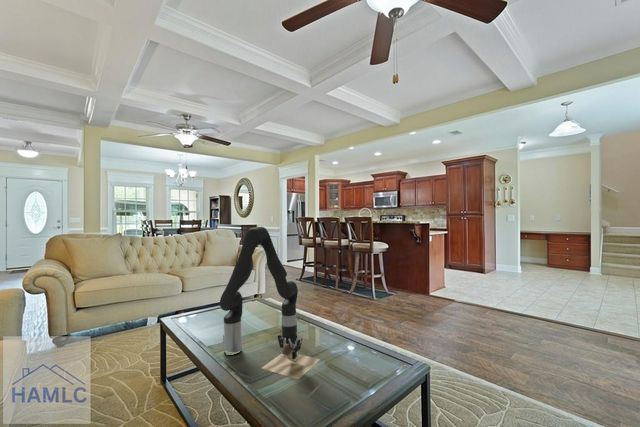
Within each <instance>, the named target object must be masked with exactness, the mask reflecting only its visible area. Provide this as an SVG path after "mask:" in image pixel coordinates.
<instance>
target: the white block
mask: <svg viewBox="0 0 640 427" xmlns="http://www.w3.org/2000/svg"><path fill="white" fill-rule="evenodd" d="M292 352H293V351H292V348H291V346H290V345H288V346H285V347H284V350H283V349H282V352H281V354H283V355H284V356H285V357H287V358H288V359H289V360H290V361H293V362H297V360H298V357H299V354H300V353H299V351H297V357H296V358H295V359H292Z"/></svg>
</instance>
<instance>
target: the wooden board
mask: <svg viewBox="0 0 640 427" xmlns="http://www.w3.org/2000/svg"><path fill="white" fill-rule="evenodd" d="M320 361H321V359H319V358H315V357H313V356H309V355H308V356H307V355H304V354H301V353H299V357H298V360H297V362H293V361H290V360H289V359H288V358H287V357H284V355H283V354H282V353H280V354H279V355H277V356H276V357H275V358H273V359H272V360H271V361H269V362H268V363H266V364H265V365H263V366H262V367H261V369H263V370H265V371H269V372H272V373H276V374H279V375H282V376H286V377H289V378H292V379H295V380H300V379H301V378H302V377H303V376H304V375H306V374H307V373H308V371H310V370H311V369H312V368H313V367H314V366H315V365H316V364H318V363H319V362H320Z"/></svg>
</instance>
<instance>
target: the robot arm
mask: <svg viewBox="0 0 640 427" xmlns="http://www.w3.org/2000/svg"><path fill="white" fill-rule="evenodd" d="M243 238H244V239H243V241H242V242H243V243H242V245H241V250H240V252H239V255H238V257H237V260H236V263H235V265H234V267H233V270H232V273H231V274H230V275H231V276H230V278H229V280H228V282H227V284H226V287H225V289H224V290H223V293H222V294H221V296H220V299H219V306H220V309H221V310H222V311H225V312H227V313H226V314H225V315H224V317H223V329H224V330H223V335H222V340H223V341H222V344H223V348H224V349H225V350H226V351H228V352H238V351H241V350H242V351H243V340H242V339H243V337H242V336H243V335H242V316H243V304H244V303H243V296H242V294H241V292H240V291H239V290H240V289H241V288H242V286H244V285H245V283H246V282H247V281H248V280H249V279H250V277H251V273H252V272H253V268H254V261H253V256H254V253H255V250H256V248H257V247H258V246H261V247H262V249H263V250H264V252H265V257H266V265H267V269H268V270H269V271H268V272H269V273H270V274H271V277H272V278H273V280H274V284H275V287H276V291H277V293H278V295H279V296H280V297H281V298H282V299H284V301H283V302H282V304H281V332H282V334H278V335H277V340H278V344H279V347H280V349H282V351H283V350H284V347H285V346H290V347H291V348H292V351H293V352H292V359H295V358H296V357H297V352H299V351H300V350H301V349H302V348H301V347H302V343H303V338H299V337H298V333H297V332H298V318H297V307H296V306H297V299H298V291H299V289H298V285H297V283H295V281H293V280H289V281H287V276H288V272H287V271H286V269H285V266H284V265H283V264H282V261H281V260H280V258H279V256H278V254H277V251H276V248H275V246H274V243H273V240H272V237H271V235H270V233H269V231H268V230H267V228H265V227H264V226H256V227H255V226H254V227H251V228H249V229H248V230H247V231H246V233H245V235H244V237H243ZM283 339H284V340H283ZM296 340H297V341H296ZM284 357H285V356H284Z"/></svg>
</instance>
